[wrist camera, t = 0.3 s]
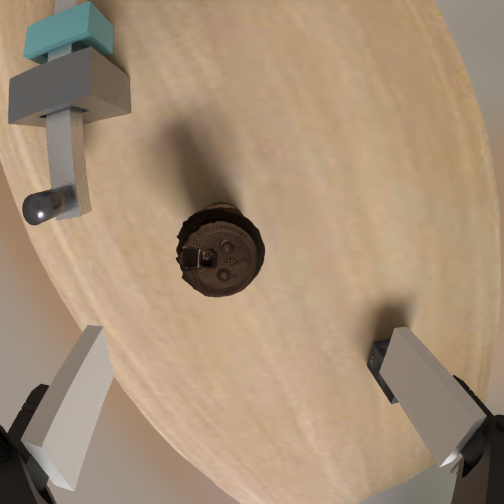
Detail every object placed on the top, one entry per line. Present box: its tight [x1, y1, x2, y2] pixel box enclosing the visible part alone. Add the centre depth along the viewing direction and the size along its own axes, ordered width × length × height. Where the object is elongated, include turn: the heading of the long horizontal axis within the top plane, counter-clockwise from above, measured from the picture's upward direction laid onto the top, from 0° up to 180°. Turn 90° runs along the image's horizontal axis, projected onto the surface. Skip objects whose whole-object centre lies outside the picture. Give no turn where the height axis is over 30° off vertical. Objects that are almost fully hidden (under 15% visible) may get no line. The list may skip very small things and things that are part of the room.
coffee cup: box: [176, 203, 265, 297], centre depth 32 cm, size 9×8×13 cm
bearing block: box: [8, 47, 131, 127], centre depth 26 cm, size 5×10×13 cm, turn 94°
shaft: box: [22, 0, 92, 225], centre depth 21 cm, size 26×3×9 cm, turn 4°
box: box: [367, 340, 398, 404], centre depth 43 cm, size 8×6×11 cm
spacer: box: [24, 1, 114, 65], centre depth 22 cm, size 4×8×8 cm, turn 94°
